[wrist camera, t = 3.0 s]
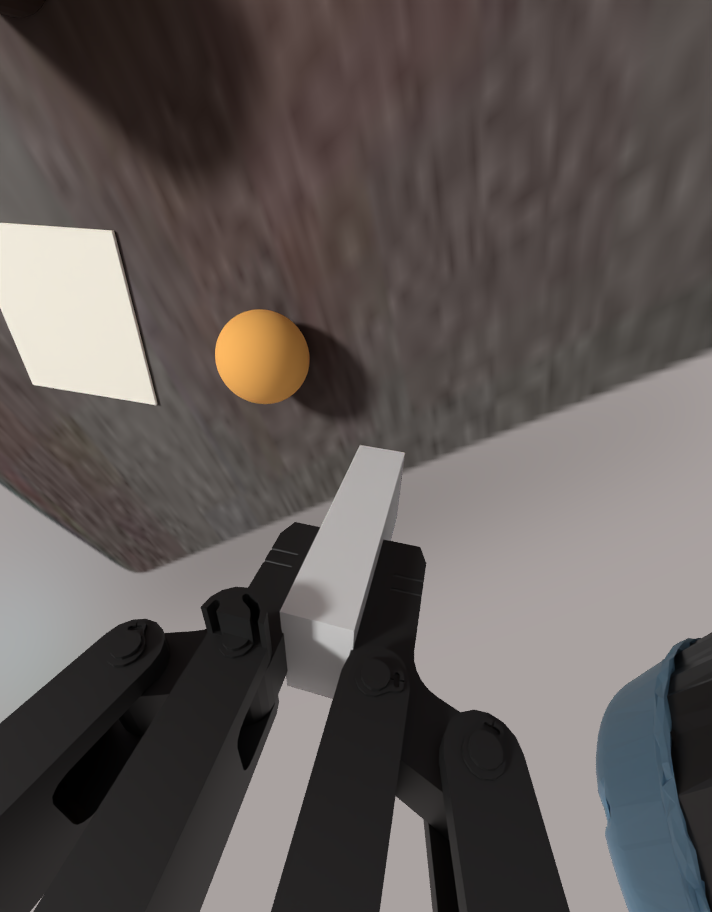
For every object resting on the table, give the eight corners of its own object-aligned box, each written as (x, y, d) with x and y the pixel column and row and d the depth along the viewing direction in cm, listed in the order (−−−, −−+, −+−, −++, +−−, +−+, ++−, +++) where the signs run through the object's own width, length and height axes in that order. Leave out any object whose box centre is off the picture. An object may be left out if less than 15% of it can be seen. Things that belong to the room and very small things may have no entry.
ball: (321, 305, 24) (285, 327, 20) (321, 389, 27) (290, 425, 23) (239, 297, 25) (187, 316, 21) (248, 379, 28) (204, 411, 24)
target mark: (114, 230, 25) (111, 230, 25) (157, 404, 31) (156, 405, 31) (-34, 220, 27) (-37, 220, 27) (35, 383, 34) (32, 384, 34)
